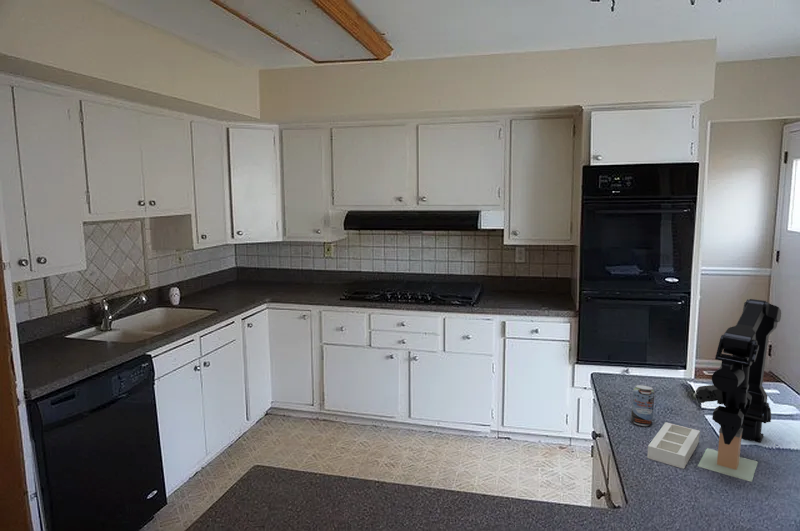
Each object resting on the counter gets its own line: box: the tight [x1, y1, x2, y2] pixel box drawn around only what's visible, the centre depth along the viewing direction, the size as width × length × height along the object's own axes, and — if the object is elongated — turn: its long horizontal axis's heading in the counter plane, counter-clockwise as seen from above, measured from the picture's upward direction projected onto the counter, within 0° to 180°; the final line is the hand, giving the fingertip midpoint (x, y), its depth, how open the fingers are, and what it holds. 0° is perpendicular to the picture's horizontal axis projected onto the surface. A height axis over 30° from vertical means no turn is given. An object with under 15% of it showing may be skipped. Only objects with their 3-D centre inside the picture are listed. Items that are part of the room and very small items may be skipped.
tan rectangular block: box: [717, 426, 743, 470], centre depth 141 cm, size 5×5×10 cm
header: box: [646, 421, 701, 469], centre depth 150 cm, size 18×9×4 cm, turn 140°
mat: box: [697, 447, 759, 483], centre depth 142 cm, size 12×12×1 cm
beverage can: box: [630, 384, 655, 427], centre depth 166 cm, size 6×7×12 cm
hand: (730, 437), depth 141 cm, fingers open, 9 cm apart
